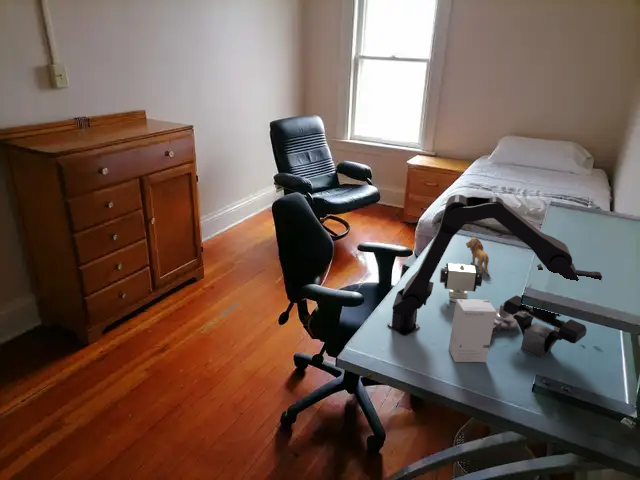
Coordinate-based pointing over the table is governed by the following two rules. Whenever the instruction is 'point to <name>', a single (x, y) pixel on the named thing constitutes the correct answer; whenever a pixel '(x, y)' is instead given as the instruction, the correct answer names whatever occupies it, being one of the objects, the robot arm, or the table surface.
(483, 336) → the skincare box
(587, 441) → the table surface
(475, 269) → the pneumatic valve
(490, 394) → the table surface
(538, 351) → the brushed metal block
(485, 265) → the lion figurine
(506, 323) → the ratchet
